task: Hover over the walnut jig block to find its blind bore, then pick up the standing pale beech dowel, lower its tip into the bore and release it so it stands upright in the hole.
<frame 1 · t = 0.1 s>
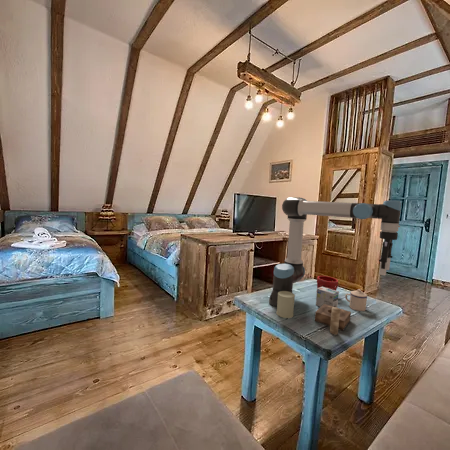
hand: (384, 272, 126), 28 cm above the table, fingers open, 13 cm apart
dowel pin: (333, 332, 118), on the table
light bulb box: (326, 307, 147), on the table
bore block: (332, 320, 130), on the table
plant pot: (326, 295, 166), on the table
can: (284, 314, 135), on the table
teacup with lid: (354, 307, 148), on the table
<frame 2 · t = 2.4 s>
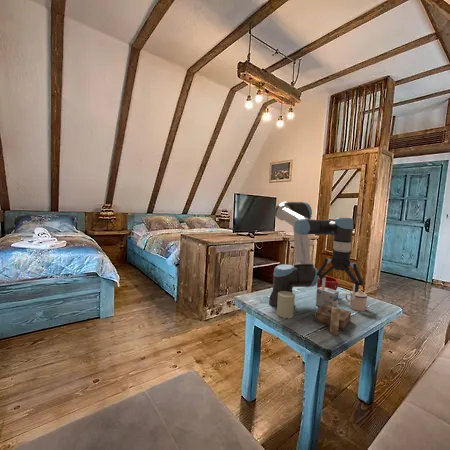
hand: (337, 294, 116), 19 cm above the table, fingers open, 13 cm apart
nothing on the table moved.
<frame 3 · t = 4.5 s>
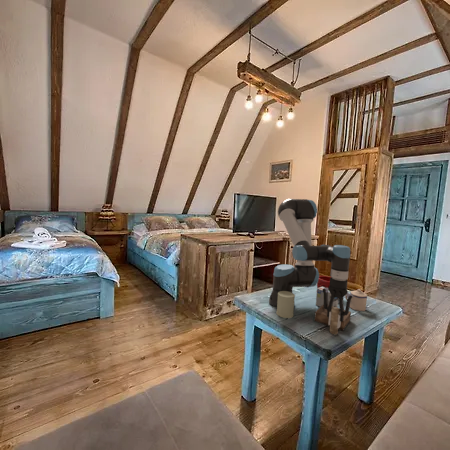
hand: (334, 325, 118), 4 cm above the table, fingers closed on dowel pin, 3 cm apart
dowel pin: (333, 332, 118), on the table, touching gripper
everything else where it was.
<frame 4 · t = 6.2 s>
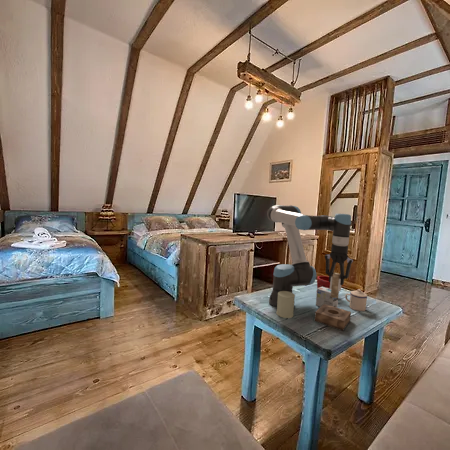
hand: (335, 289, 126), 18 cm above the table, fingers closed on dowel pin, 3 cm apart
dowel pin: (334, 296, 126), point 14 cm above the table, touching gripper
everything else where it was.
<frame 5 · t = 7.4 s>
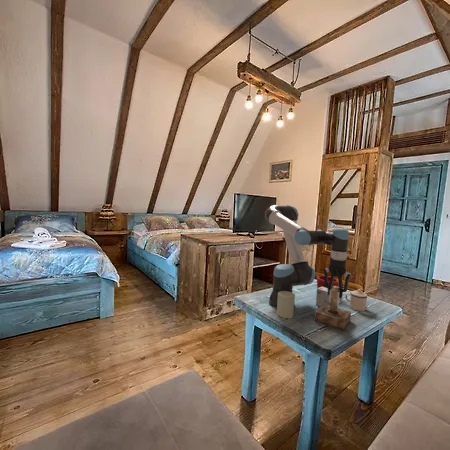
hand: (334, 302, 129), 10 cm above the table, fingers closed on dowel pin, 3 cm apart
dowel pin: (333, 309, 129), point 6 cm above the table, touching gripper
everything else where it was.
when the fingers open (7 cm above the table, at t = 8.3 s): dowel pin drops 2 cm, resting on bore block.
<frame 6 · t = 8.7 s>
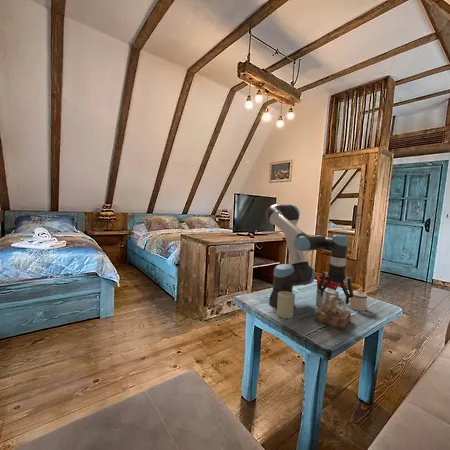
hand: (333, 306, 129), 8 cm above the table, fingers open, 10 cm apart
dowel pin: (332, 318, 130), point 1 cm above the table, touching bore block
everything else where it was.
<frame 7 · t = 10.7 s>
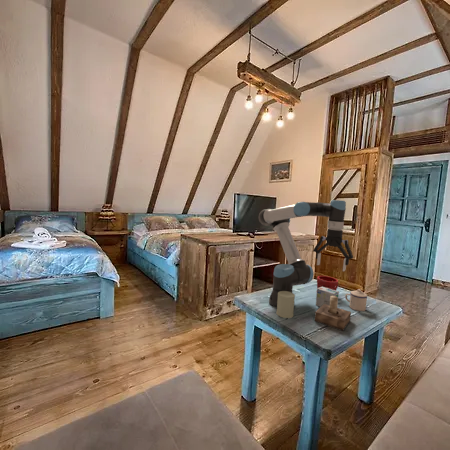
hand: (330, 267, 133), 27 cm above the table, fingers open, 13 cm apart
nothing on the table moved.
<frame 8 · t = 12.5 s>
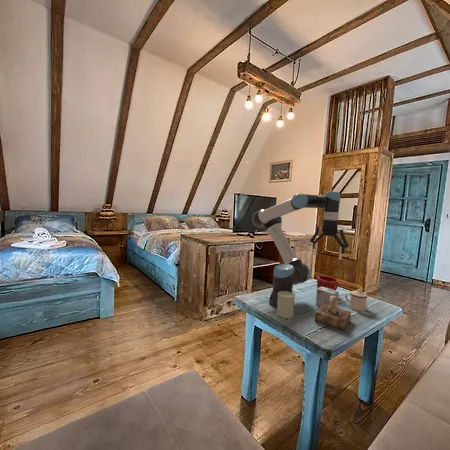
hand: (327, 257, 139), 32 cm above the table, fingers open, 13 cm apart
nothing on the table moved.
at the end: dowel pin 0.2 cm off-centre on the bore block, point 1.0 cm above the bore block's base; dowel pin tilted 1°; the gripper is holding nothing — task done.
